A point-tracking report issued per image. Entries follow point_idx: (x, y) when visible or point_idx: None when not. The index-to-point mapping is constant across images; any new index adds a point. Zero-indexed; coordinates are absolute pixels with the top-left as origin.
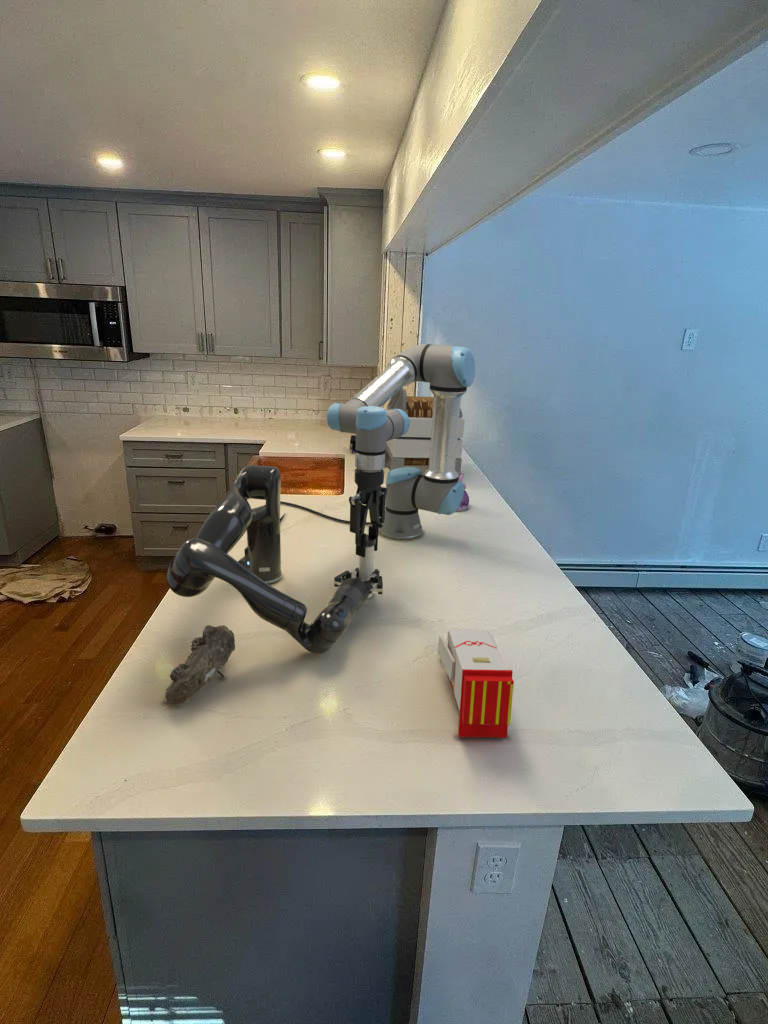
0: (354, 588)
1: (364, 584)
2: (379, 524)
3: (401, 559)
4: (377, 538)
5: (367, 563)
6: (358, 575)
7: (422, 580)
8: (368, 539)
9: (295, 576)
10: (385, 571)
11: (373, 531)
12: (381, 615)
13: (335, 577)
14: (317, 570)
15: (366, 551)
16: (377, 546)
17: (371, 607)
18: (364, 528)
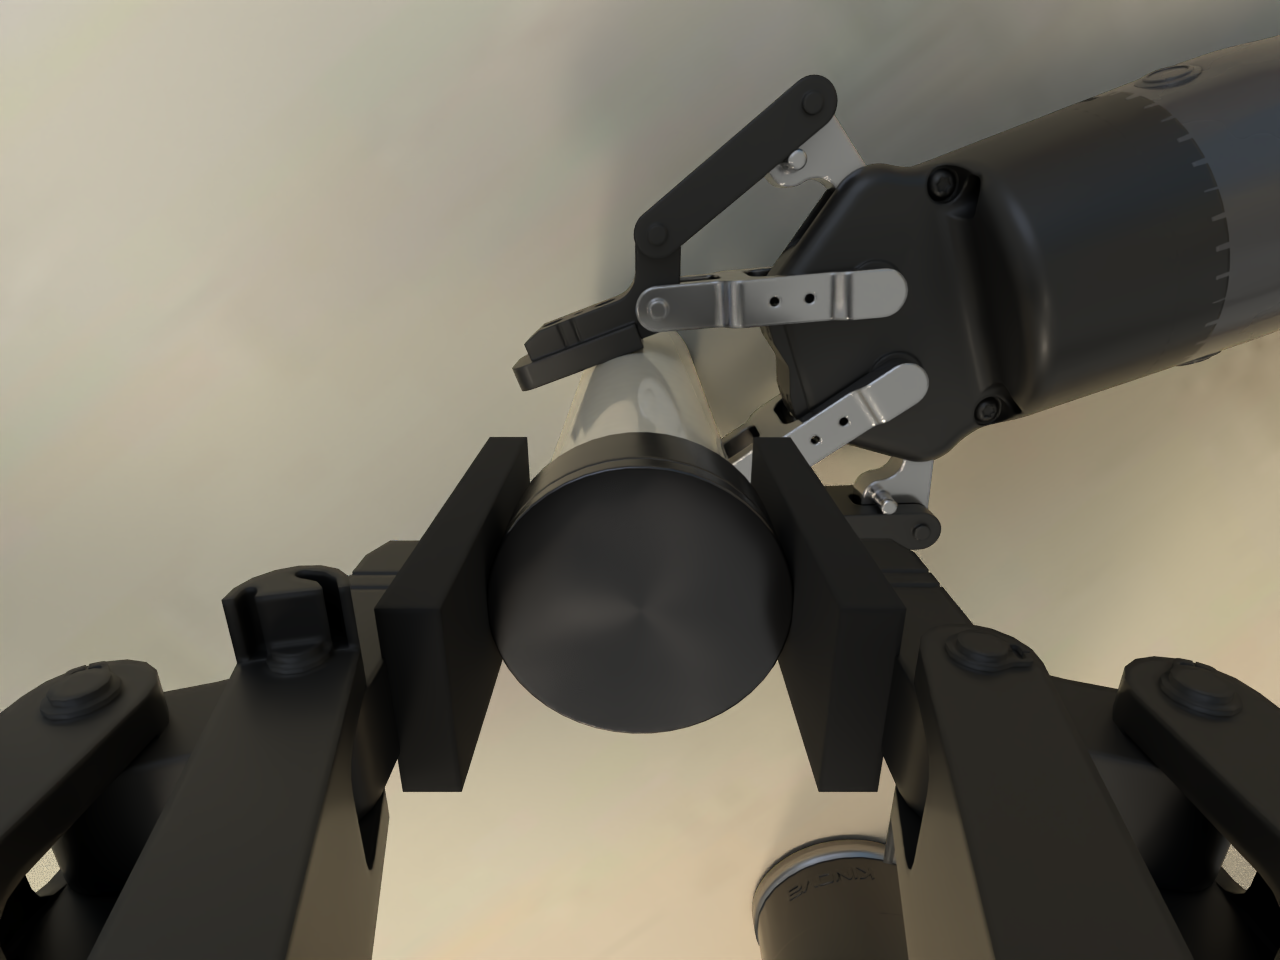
0: (1246, 159)
1: (1010, 184)
2: (290, 660)
3: (5, 510)
4: (455, 507)
5: (699, 402)
6: None
7: (114, 164)
8: (701, 543)
9: (725, 815)
10: (250, 481)
11: (467, 635)
12: (815, 72)
13: (927, 537)
14: (581, 782)
15: None
16: (480, 455)
17: (758, 217)
18: (947, 715)
